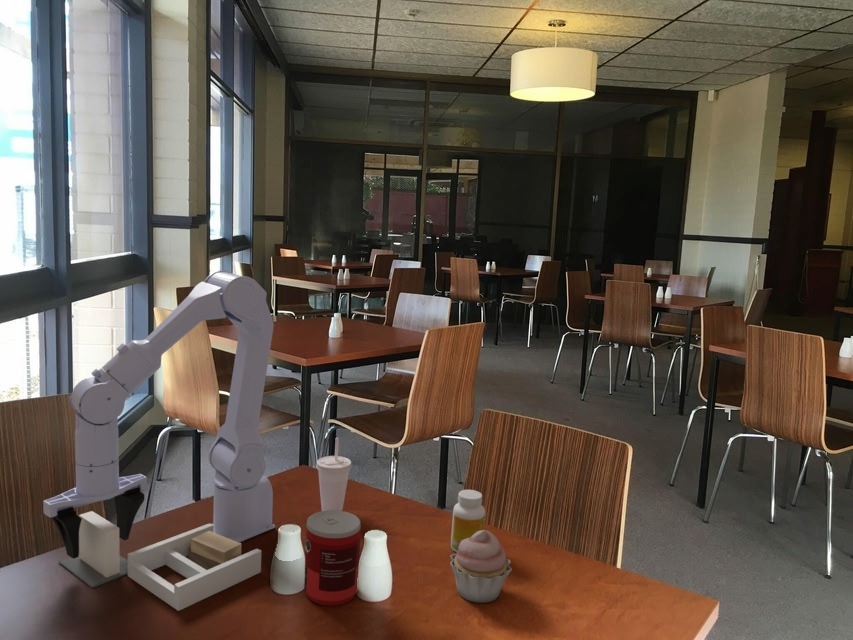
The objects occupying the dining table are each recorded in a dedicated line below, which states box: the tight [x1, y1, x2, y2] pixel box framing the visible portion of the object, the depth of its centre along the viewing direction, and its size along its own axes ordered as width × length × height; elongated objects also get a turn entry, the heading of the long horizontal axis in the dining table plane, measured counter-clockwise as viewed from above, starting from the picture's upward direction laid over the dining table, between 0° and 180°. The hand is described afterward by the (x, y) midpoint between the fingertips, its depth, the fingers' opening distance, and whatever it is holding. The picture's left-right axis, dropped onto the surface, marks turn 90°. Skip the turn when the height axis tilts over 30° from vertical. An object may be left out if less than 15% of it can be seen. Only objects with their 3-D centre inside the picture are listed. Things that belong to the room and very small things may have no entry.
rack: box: [127, 522, 262, 612], centre depth 102 cm, size 14×13×4 cm
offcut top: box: [191, 531, 242, 564], centre depth 104 cm, size 4×7×2 cm, turn 60°
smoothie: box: [315, 437, 352, 511], centre depth 125 cm, size 6×6×14 cm
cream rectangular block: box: [78, 510, 121, 578], centre depth 102 cm, size 2×8×7 cm, turn 52°
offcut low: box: [187, 546, 220, 570], centre depth 105 cm, size 4×9×2 cm, turn 52°
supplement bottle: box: [450, 489, 486, 554], centre depth 114 cm, size 5×5×10 cm
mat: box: [58, 553, 128, 589], centre depth 102 cm, size 7×10×1 cm
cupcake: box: [449, 529, 513, 604], centre depth 101 cm, size 9×9×10 cm
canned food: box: [303, 510, 362, 607], centre depth 99 cm, size 8×8×11 cm
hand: (98, 546), depth 102 cm, fingers open, 7 cm apart
